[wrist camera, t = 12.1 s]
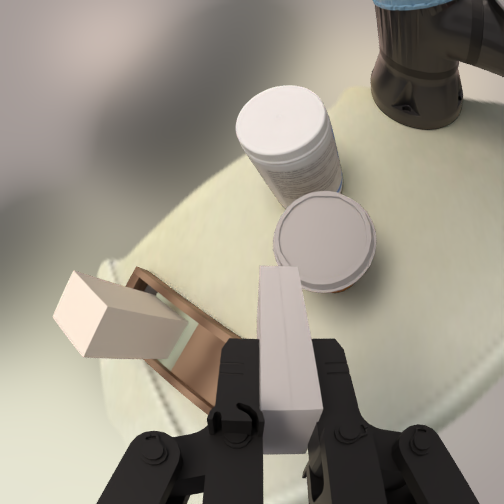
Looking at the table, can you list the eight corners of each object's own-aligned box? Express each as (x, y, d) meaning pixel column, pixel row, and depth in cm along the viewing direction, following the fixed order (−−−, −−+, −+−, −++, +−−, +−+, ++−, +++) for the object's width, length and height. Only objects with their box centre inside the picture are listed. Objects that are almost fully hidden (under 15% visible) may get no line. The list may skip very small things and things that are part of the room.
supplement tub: (356, 174, 40) (347, 100, 27) (317, 230, 40) (292, 172, 27) (299, 145, 44) (269, 74, 31) (260, 195, 44) (215, 135, 31)
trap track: (306, 380, 35) (301, 383, 32) (262, 442, 34) (255, 449, 32) (148, 271, 47) (136, 266, 44) (119, 324, 46) (106, 322, 43)
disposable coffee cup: (387, 256, 36) (396, 219, 25) (342, 322, 36) (334, 312, 25) (325, 216, 40) (308, 169, 29) (281, 277, 40) (248, 250, 29)
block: (189, 321, 40) (107, 306, 26) (167, 358, 40) (83, 357, 26) (154, 294, 43) (73, 270, 29) (135, 329, 43) (52, 316, 29)
